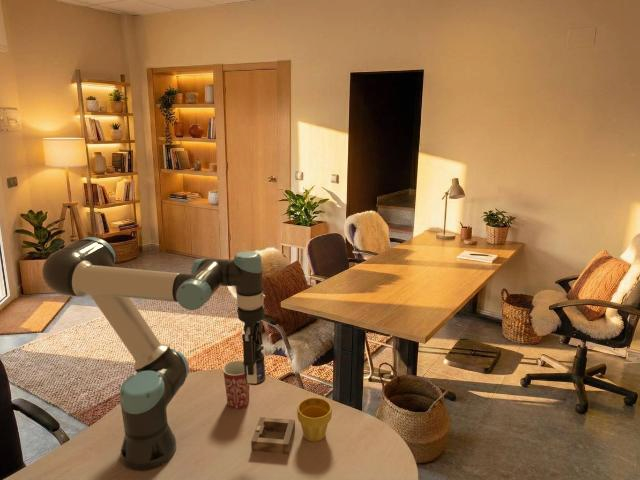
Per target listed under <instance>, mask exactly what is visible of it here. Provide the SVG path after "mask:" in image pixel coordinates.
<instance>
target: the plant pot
mask: <svg viewBox="0 0 640 480" xmlns="http://www.w3.org/2000/svg"><path fill="white" fill-rule="evenodd" d="M332 409H333V407H332V405H331V403H330V402H329V401H328V400H326V399H325V398H323V397H322V398H321V397H315V396H314V397H308V398H304V399H303V400H301V401H300V403H299V404H298V405H297V413H296V414H297V420H298V422H299V423H300V424H301V425H300V426H301V430H302V434H303V437H304V438H305V439H306V440H307V441H310V442H318V441H321V440H322V439H324V437H326V432H327V429H328V425H329V423H330V421H331V420H332V415H333V414H332V413H333V412H332Z"/></svg>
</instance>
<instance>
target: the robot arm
mask: <svg viewBox="0 0 640 480" xmlns="http://www.w3.org/2000/svg"><path fill="white" fill-rule="evenodd" d="M114 250H115V249H113V247H112V245H111V244H109V243H108V242H107V241H106V240H104V239H102V238H99V237H95V236H89V237H85V238H82V239H81V238H80V239H79V240H76V241H74V242H73V243H71V244H69V245H67V246H65V247H63V248H61V249H58V250H56V251H54V252H53V253H51V254H50V255H49V256H48V257H47V258H46V260H45V261H44V263H43V264H42V271H41V274H42V278H43V282H44V283H45V284H46V285H47V286H48V288H49V289H51V290H52V291H54V292H55V293H58V294H61V295H65V296H70V297H81V298H83V297H86V296H87V295H89V296H90V297H91V298H92V300H93V301H94V303H95V305H96V306H97V307H98V309H99V310H100V312H101V313H102V314H103V316H104V317H105V319H106V320H107V321H108V323H109V324H110V325H111V328H112V329H113V330H114V332H115V333H116V335H117V336H118V338H119V339H120V340H121V342H122V344H123V345H124V346H125V348H126V349H127V351H128V353H130V354H131V357H132V358H133V359H134V366H133V368H134V370H135V372H136V374H131V375H130V376H128V377H127V378H126V379H125V380H124V381H123V382H122V384H121V386H120V390H119V404H120V407H121V408H120V409H121V413H122V414H121V415H122V422H123V429H124V435H123V436H124V437H123V440H122V444H121V448H120V456H121V457H120V458H121V462H122V464H123V465H124V466H125V467H126V468H128V469H129V470H132V471H133V470H135V471H147V470H152V469H155V468H158V467H160V466H162V465H164V464H165V463H167V462H168V461H169V460H170V459H172V457H173V456H174V454H175V453H176V450H177V441H176V440H177V439H176V436H175V434H174V433H173V431H172V429H171V427H170V426H169V423H168V415H167V407H168V406H169V404H170V402H171V401H172V399H173V398H174V397H175V395H176V394H177V392H178V391H179V389H180V388H181V387H182V386H183V385H184V384H185V382H186V379H187V377H188V375H189V371H190V370H189V369H190V368H189V363H188V360H187V358H186V356H185V354H183V353H182V352H181V351H179V350H176V349H175V348H174V349H173V348H171V347H170V346H169V345H168V344H165V343H161V342H160V341H159V339H158V338H157V336H156V335H155V333H154V332H153V330H152V328H151V327H150V326H149V324H148V323H147V321H146V319H144V317H143V315H142V314H141V312H140V311H139V308H137V306H136V305H135V302H134V301H132V299H141V300H142V299H143V300H154V301H163V302H175V303H178V304H179V305H180V307H182V308H183V309H185V310H188V311H196V310H199V309H201V308H202V307H203V306H204V305H205V304H206V303H208V302H209V301H210V299H211V297H212V296H213V295H214V294H215V293H216V291H217V290H218V289H220V288H221V287H235V290H236V291H235V292H236V302H237V303H236V304H237V317H238V320H239V321H240V322H242V323H244V325H243V332H244V333H242V336H241V338H242V352H243V353H242V354H243V358H244V359H243V361H244V362H243V365H244V366H246V368H247V383H254V384H257V371H256V363H255V344H259V345H260V346H261V350H264V346H263V333H262V320H263V319H264V318H265V315H266V314H265V305H264V299H265V298H266V295H265V294H264V279H263V270H264V269H263V264H262V256H261V255H260V253H259V252H257V251H253V250H247V251H240V252H238V253H236V254H235V255H234V257H233V259H230V258H229V259H223V258H210V257H209V258H208V257H205V258H198V259H195V260H194V262H193V264H192V266H191V271H190V273H180V272H171V271H159V270H147V269H138V268H129V267H127V268H125V267H116V265H115V262H116V252H115V251H114Z"/></svg>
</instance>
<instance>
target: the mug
mask: <svg viewBox="0 0 640 480" xmlns="http://www.w3.org/2000/svg"><path fill="white" fill-rule="evenodd" d="M243 362H244V360H232V361H229V362H227V363H225V364H224V365H223V367H222V372H223V380H224V386H225V393H226V394H225V395H226V403H227V405H228V406H229V408H232V409H235V410H239V409H243V408H245V407H247V406H248V405H249V403H250V384H248V383H246V381H245V372H244V365H243Z"/></svg>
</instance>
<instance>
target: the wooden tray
mask: <svg viewBox="0 0 640 480" xmlns="http://www.w3.org/2000/svg"><path fill="white" fill-rule="evenodd" d="M257 421H258V422H257V424H256V427H255V429H254V432H253V436H252V438H251V441H250V446H251V447H250V448H251V452H258V453H269V454H280V455H281V454H282V455H289V454H290V450H291V447H292V443H293V438H294V434H295V432H296V420H295V419H287V418H278V417H276V418H275V417H274V418H273V417H265V416H264V417H262V416H260V417H259V419H258V420H257ZM266 432H275V433H284V437H283V439H278V438H271V437H270V438H269V437H267V438H266V437H265V436H266Z"/></svg>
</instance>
